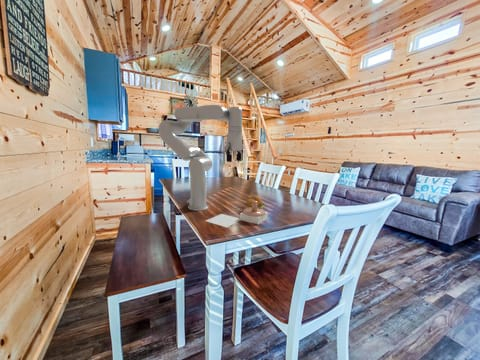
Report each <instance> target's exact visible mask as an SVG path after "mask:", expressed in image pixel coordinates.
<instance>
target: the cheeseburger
mask: <svg viewBox="0 0 480 360" xmlns="http://www.w3.org/2000/svg"><path fill="white" fill-rule="evenodd" d="M252 201H258V203H257V208H259V209H263V210H264V203H263V201H262V199H261V198H260V196H257V195H256V196H255V195H254V196H250V197H249V199H248V200H247V202H246V203H245V205H246V209H247V208H252Z"/></svg>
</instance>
